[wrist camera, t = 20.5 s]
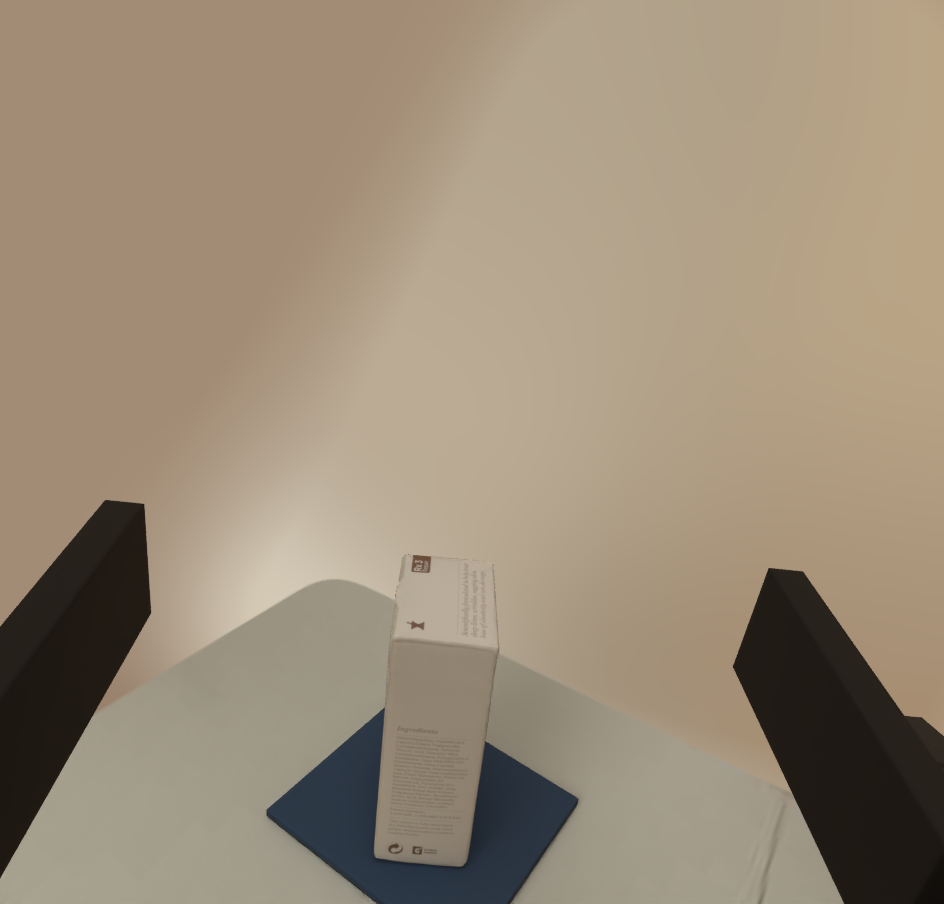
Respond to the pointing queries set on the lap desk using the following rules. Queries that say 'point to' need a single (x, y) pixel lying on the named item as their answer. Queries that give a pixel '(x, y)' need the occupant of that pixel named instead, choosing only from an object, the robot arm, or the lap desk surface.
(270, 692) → the lap desk surface
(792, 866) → the lap desk surface
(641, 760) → the lap desk surface
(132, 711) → the lap desk surface
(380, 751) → the blue mat
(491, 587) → the cosmetic box
